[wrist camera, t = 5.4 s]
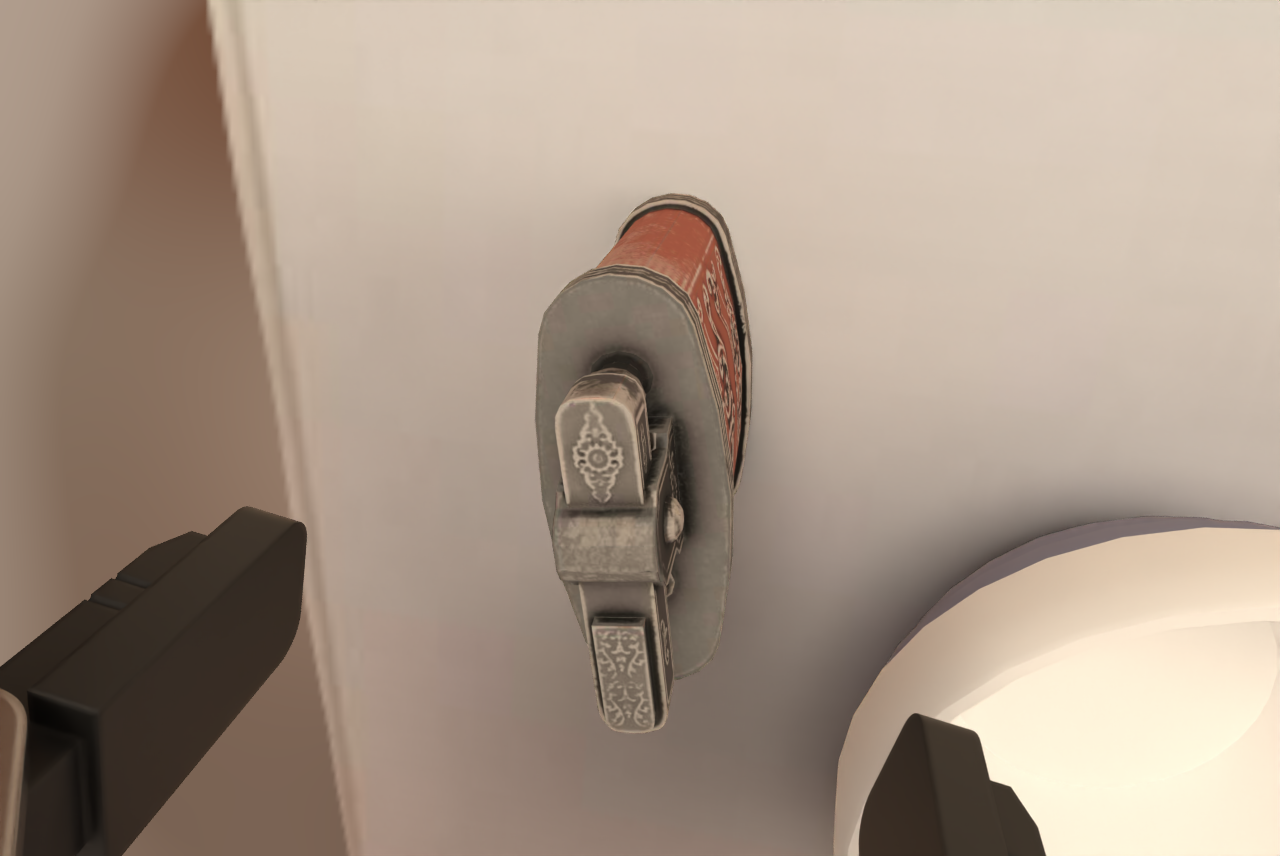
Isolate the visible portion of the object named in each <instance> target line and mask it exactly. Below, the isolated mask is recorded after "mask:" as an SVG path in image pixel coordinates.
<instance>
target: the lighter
mask: <svg viewBox="0 0 1280 856" xmlns="http://www.w3.org/2000/svg"><path fill="white" fill-rule="evenodd" d="M751 394H752V347H751V339H750V331H749V323H748V316H747V308H746V300H745V292H744V288H743V284H742V280H741V276H740V272H739V268H738V264H737V260H736V257H735V253H734V249H733V245H732V241H731V237H730V233H729V229H728V227H727V225H726V223H725V221H724V219H723V217H722V215H721V214H720V213H719V212H718V211H717V210H716V209H715V208H713V207H712V206H711V205H710V204H709V203H708V202H706V201H703V200H701V199H699V198H696V197H694V196H691V195H684V194H666V195H662V196H658V197H654V198H651V199H650V200H648V201H646V202H645V203H643V204H641V205H640V206H638V207H637V208H636V209H635V210H634V211H633V212H632V213H631V214H630V215H629V217H628V218H627V219H626V221H625V222H624V223H623V224H622V226H621V227H620V228H619V230H618V234H617V237H616V241H615V244H614V247H613V249H612V250H611V251H610V252H609V253H608V254H607V256H606V257H605V258H604V259H603V260H602V262H601V263H600V264H599V265H598V266H597V268H595V269H591V270H589V271H587V272H586V273H584V274H583V275H581V276H579V277H578V278H576V279H574V280H573V281H571V282H569V284H568V285H567V286H566V287H565V288H564V289H563V290H562V291H561V293H560V294H559V295H558V296H557V297H556V299H555V300H554V301H553V302H552V304H551V305H550V306H549V308H548V309H547V310H546V311H545V313H544V315H543V319H542V323H541V327H540V331H539V334H538V358H537V384H536V409H535V423H536V434H537V445H538V457H539V468H540V480H541V491H542V501H543V505H544V509H545V513H546V517H547V522H548V526H549V530H550V534H551V538H552V542H553V552H554V558H555V564H556V570H557V573H558V575H559V578H560V580H562V581H563V583H564V586H565V588H566V591H567V594H568V596H569V599H570V602H571V604H572V607H573V609H574V612H575V615H576V617H577V620H578V623H579V625H580V628H581V630H582V633H583V636H584V638H585V641H586V643H587V644H588V648H589V655H590V661H591V668H592V674H593V681H594V687H595V694H596V701H597V707H598V710H599V713H600V717H601V718H602V720H603V721H604V722H605V723H606V724H607V725H608V726H609V727H610V728H611V729H612V730H614V731H616V732H622V733H633V734H639V733H648V732H651V731H655V730H657V729H660V728H662V727H663V725H664V723H665V722H666V720H667V715H668V710H669V705H670V700H671V695H672V689H673V684H674V680H678V679H681V678H684V677H686V676H689V675H691V674H694V673H697V672H699V671H700V670H701V669H702V668H703V667H704V666H706V665H707V664H708V663H709V662H710V661H711V660H713V657H714V655H715V653H716V651H717V648H718V646H719V643H720V636H721V630H722V624H723V617H724V611H725V604H726V598H727V592H728V585H729V579H730V572H731V564H732V556H733V497H734V495H735V494H736V492H737V489H738V487H739V484H740V482H741V477H742V471H743V464H744V458H745V451H746V445H747V438H748V432H749V425H750V417H751Z"/></svg>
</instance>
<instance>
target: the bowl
mask: <svg viewBox="0 0 1280 856" xmlns="http://www.w3.org/2000/svg"><path fill="white" fill-rule="evenodd" d="M914 713H918V714H921V715H924V716H928V717H931V718H934V719H938V720H941V721H944V722H947V723H951V724H954V725H957V726H960V727H964V728H967V729H970V730H973V731H975V732H976V733H977V734H978V736H979V738H980V741H981V745H982V749H983V753H984V757H985V761H986V765H987V769H988V774H989V778H990V780H991V781H994V782H997V783H1001V784H1004V785H1007V786H1010V787H1011V788H1012V789H1013V791H1014V792H1015V794H1016V795H1017V796H1018V798H1019V799H1020V801H1021V802H1022V804H1023V805H1024V807H1025V808H1026V810H1027V811H1028V813H1029V814H1030V816H1031V817H1032V819H1033V820H1034V822H1035V823H1036V825H1037V826H1038V829H1039V832H1040V836H1041V839H1042V843H1043V846H1044V850H1045V853H1046V856H1280V528H1278V527H1273V526H1268V525H1263V524H1258V523H1253V522H1248V521H1219V520H1214V519H1209V518H1197V517H1165V516H1143V517H1135V518H1127V519H1119V520H1111V521H1103V522H1095V523H1090V524H1086V525H1083V526H1077V527H1072V528H1069V529H1065V530H1062V531H1058V532H1055V533H1051V534H1048V535H1044V536H1041V537H1038V538H1036V539H1034V540H1032V541H1030V542H1028V543H1025V544H1023V545H1021V546H1019V547H1017V548H1015V549H1013V550H1010V551H1008V552H1007V553H1005V554H1003V555H1001V556H999V557H997V558H995V559H993V560H991V561H989V562H988V563H987V564H985V565H984V566H982V567H981V568H979V569H978V570H976V571H975V572H974V573H972V574H971V575H969V576H968V577H966V578H965V579H964V580H962V581H961V582H959V583H958V584H956V585H955V586H954V587H952V588H951V589H950V590H949V591H948V592H947V593H946V594H945V595H944V596H943V597H942V598H941V599H940V600H939V601H938V602H937V603H936V604H935V605H934V606H933V607H932V608H931V609H930V610H929V611H928V613H927V614H926V615H925V616H924V617H923V618H922V619H921V620H920V621H919V623H918V625H917V626H916V627H915V628H914V629H913V630H912V631H911V632H910V633H909V634H908V635H907V636H906V637H905V638H904V639H903V640H902V641H901V642H900V643H899V644H898V646H897V647H896V649H895V651H894V652H893V654H892V655H891V657H890V659H889V660H888V662H887V663H886V665H885V667H884V668H883V669H882V670H881V672H880V673H879V675H878V677H877V678H876V680H875V681H874V683H873V685H872V686H871V688H870V689H869V691H868V693H867V694H866V696H865V697H864V699H863V701H862V702H861V704H860V705H859V707H858V709H857V710H856V712H855V713H854V715H853V718H852V721H851V724H850V727H849V730H848V733H847V736H846V740H845V743H844V746H843V749H842V752H841V755H840V758H839V761H838V775H837V789H836V803H835V823H834V845H833V852H834V856H859V830H860V823H861V818H862V814H863V810H864V806H865V803H866V800H867V798H868V795H869V793H870V791H871V789H872V787H873V785H874V783H875V781H876V779H877V777H878V775H879V773H880V771H881V769H882V767H883V765H884V763H885V761H886V759H887V757H888V755H889V753H890V751H891V750H892V748H893V746H894V744H895V742H896V740H897V738H898V736H899V734H900V732H901V730H902V728H903V726H904V724H905V722H906V720H907V719H908V718H909V717H910V716H911V715H912V714H914Z"/></svg>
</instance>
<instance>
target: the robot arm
mask: <svg viewBox="0 0 1280 856" xmlns="http://www.w3.org/2000/svg"><path fill="white" fill-rule="evenodd" d="M306 543H307V531H306V527H305V525H304V524H303V523H302V522H298V521H295V520H292V519H289V518H285V517H282V516H279V515H276V514H272V513H269V512H266V511H263V510H259V509H256V508H253V507H248V506H246V507H242V508H241V509H239V510H237V511H236V512H235V513H234V514H233V515H231V516H230V517H229V518H228V519H227V520H226V521H224V522H223V523H222V524H221V525H220V526H218V527H217V528H216V529H215V530H214V531H213V532H211V533H210V534H209V535H208V536H206V535H203V534H200V533H196V532H193V531H191V532H188V533H186V534H183V535H181V536H178V537H176V538H173V539H171V540H168V541H166V542H163V543H161V544H158V545H156V546H153V547H151V548H149V549H148V550H146V551H145V552H144V553H143V554H141V555H140V556H139V557H138V558H136V559H135V560H134V561H133V562H131V563H130V564H129V565H128V566H126V567H125V568H124V569H123V570H121V571H120V572H119V573H118V575H117V577H116V579H112V578H111V579H110V580H109V581H107V582H106V583H105V584H104V585H102V586H101V587H100V588H99V589H97V590H96V591H95V592H94V593H92V594H91V598H90V599H89V600H88V601H87V600H84V601H82V602H81V603H80V604H79V605H77V606H76V607H75V608H74V609H72V610H71V611H70V612H69V613H67V614H66V615H65V616H63V617H62V618H61V619H60V620H59V621H57V622H56V623H55V624H53V625H52V626H51V627H50V628H48V629H47V630H46V631H45V632H43V633H42V634H41V635H40V636H38V637H37V638H36V639H35V640H33V641H32V642H31V643H30V644H29V645H27V646H26V647H25V648H23V649H22V650H21V651H20V652H18V653H17V654H16V655H15V656H13V657H12V658H11V659H10V660H8V661H7V662H6V663H5V664H3V665H2V666H1V667H0V856H122V855H123V853H124V852H125V851H126V850H127V848H128V847H129V846H130V845H131V844H132V843H133V841H134V840H135V839H136V837H137V836H138V835H139V834H140V833H141V832H142V830H143V829H144V828H145V827H146V826H147V824H148V823H149V822H150V821H151V820H152V818H153V817H154V816H155V815H156V813H157V812H158V811H159V810H160V809H161V807H162V806H163V805H164V804H165V802H166V801H167V800H168V799H169V798H170V796H171V795H172V794H173V793H174V792H175V790H176V789H177V788H178V787H179V785H180V784H181V783H182V782H183V781H184V779H185V778H186V777H187V776H188V775H189V773H190V772H191V771H192V770H193V768H194V767H195V766H196V765H197V764H198V762H199V761H200V760H201V758H203V756H204V755H205V754H206V753H207V751H208V750H209V749H210V748H211V747H212V745H213V744H214V743H215V742H216V741H217V739H218V738H219V737H220V736H221V735H222V733H223V732H224V731H225V730H226V728H227V727H228V726H229V725H230V724H231V722H232V721H233V720H234V719H235V718H236V716H237V715H238V714H239V713H240V711H241V710H242V709H243V708H244V707H245V705H246V704H247V703H248V702H249V701H250V699H251V698H252V697H253V696H254V694H255V693H256V692H257V691H258V690H259V688H260V687H261V686H262V685H263V684H264V682H265V681H266V680H267V678H268V677H269V676H270V675H271V674H272V673H273V671H274V670H275V669H276V668H277V667H278V665H279V664H280V663H281V661H282V660H283V659H284V657H285V655H286V654H287V652H288V650H289V648H290V646H291V644H292V642H293V640H294V637H295V635H296V631H297V629H298V625H299V620H300V614H301V603H302V592H303V580H304V568H305V555H306ZM859 856H1046V853H1045V850H1044V846H1043V843H1042V839H1041V836H1040V832H1039V829H1038V826H1037V825H1036V823H1035V822H1034V820H1033V819H1032V817H1031V816H1030V814H1029V813H1028V811H1027V810H1026V808H1025V807H1024V805H1023V804H1022V802H1021V801H1020V799H1019V798H1018V796H1017V795H1016V794H1015V792H1014V791H1013V789H1012V788H1011V787H1010V786H1007V785H1004V784H1001V783H997V782H994V781H991V780H990V778H989V774H988V769H987V765H986V761H985V757H984V753H983V749H982V745H981V741H980V738H979V736H978V734H977V733H976V732H975V731H973V730H970V729H967V728H964V727H960V726H957V725H954V724H951V723H947V722H944V721H941V720H938V719H934V718H931V717H928V716H924V715H921V714H918V713H914V714H912V715H911V716H910V717H909V718H908V719H907V720H906V722H905V724H904V726H903V728H902V730H901V732H900V734H899V736H898V738H897V740H896V742H895V744H894V746H893V748H892V750H891V751H890V753H889V755H888V757H887V759H886V761H885V763H884V765H883V767H882V769H881V771H880V773H879V775H878V777H877V779H876V781H875V783H874V785H873V787H872V789H871V791H870V793H869V795H868V798H867V800H866V803H865V806H864V810H863V814H862V818H861V823H860V830H859Z"/></svg>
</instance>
